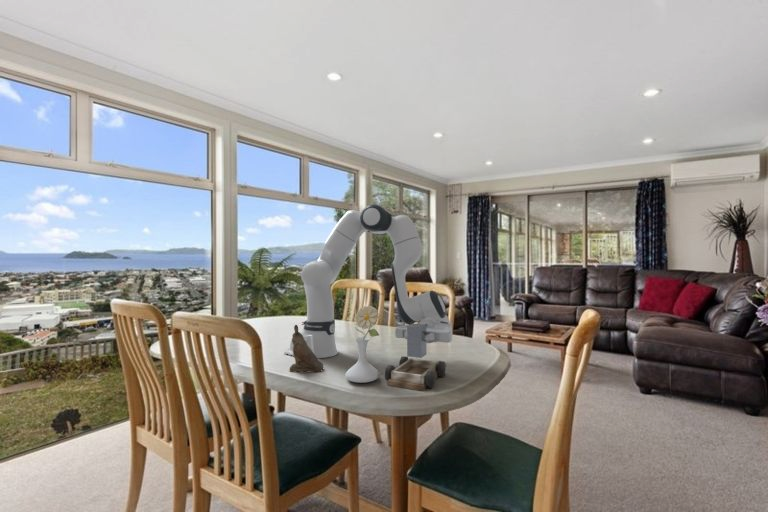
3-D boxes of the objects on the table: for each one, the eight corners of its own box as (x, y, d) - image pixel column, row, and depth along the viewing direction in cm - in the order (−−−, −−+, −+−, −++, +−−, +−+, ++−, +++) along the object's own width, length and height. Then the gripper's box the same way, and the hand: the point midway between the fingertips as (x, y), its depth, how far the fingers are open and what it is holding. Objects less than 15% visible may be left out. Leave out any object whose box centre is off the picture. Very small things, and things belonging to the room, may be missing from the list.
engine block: (407, 356, 125) (407, 326, 125) (412, 352, 129) (412, 323, 129) (421, 357, 123) (421, 327, 123) (426, 354, 127) (426, 324, 127)
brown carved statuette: (289, 378, 133) (278, 329, 133) (294, 373, 139) (284, 326, 139) (321, 372, 132) (311, 322, 132) (325, 367, 138) (315, 319, 138)
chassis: (382, 384, 120) (382, 368, 120) (406, 367, 138) (406, 353, 138) (428, 391, 114) (428, 375, 114) (446, 373, 132) (446, 358, 132)
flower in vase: (337, 380, 124) (338, 304, 124) (362, 372, 132) (362, 301, 132) (366, 390, 115) (366, 308, 115) (390, 380, 124) (390, 304, 124)
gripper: (402, 319, 142) (387, 326, 130) (456, 323, 133) (445, 330, 121) (402, 336, 142) (387, 344, 130) (456, 341, 133) (445, 350, 121)
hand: (415, 337), depth 125 cm, fingers closed on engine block, 5 cm apart
